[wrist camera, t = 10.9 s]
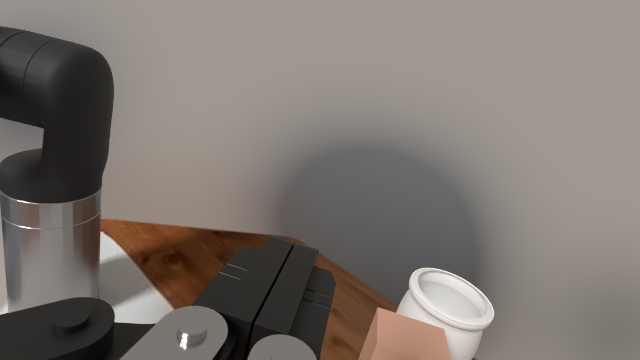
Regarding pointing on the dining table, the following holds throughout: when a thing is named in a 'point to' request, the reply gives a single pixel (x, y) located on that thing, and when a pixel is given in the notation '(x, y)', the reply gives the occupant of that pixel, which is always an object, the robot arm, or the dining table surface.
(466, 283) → the jar
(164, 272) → the dining table surface
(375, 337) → the salmon pink rectangular block
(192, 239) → the dining table surface
